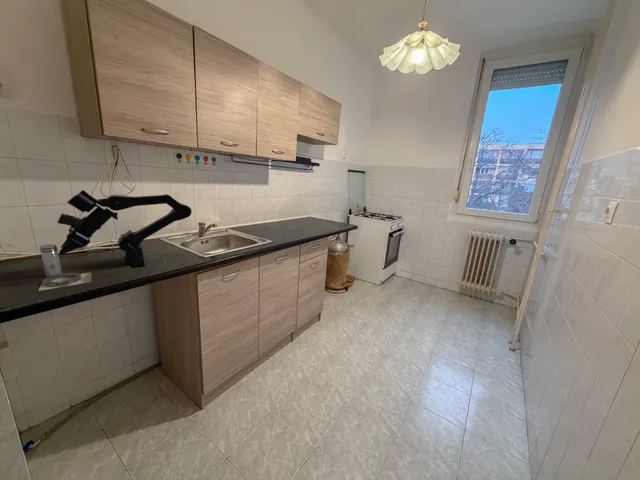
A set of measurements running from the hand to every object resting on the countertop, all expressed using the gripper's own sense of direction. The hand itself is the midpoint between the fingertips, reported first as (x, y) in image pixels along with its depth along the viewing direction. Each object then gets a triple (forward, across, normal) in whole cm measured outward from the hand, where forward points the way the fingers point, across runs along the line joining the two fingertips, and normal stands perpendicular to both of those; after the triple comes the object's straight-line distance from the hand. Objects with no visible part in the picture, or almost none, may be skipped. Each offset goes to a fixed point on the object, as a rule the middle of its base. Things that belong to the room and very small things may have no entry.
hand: (61, 250), depth 95 cm
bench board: (+6, +10, +8) cm, 14 cm away
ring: (+6, +9, +6) cm, 13 cm away
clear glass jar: (+9, 0, +5) cm, 10 cm away
